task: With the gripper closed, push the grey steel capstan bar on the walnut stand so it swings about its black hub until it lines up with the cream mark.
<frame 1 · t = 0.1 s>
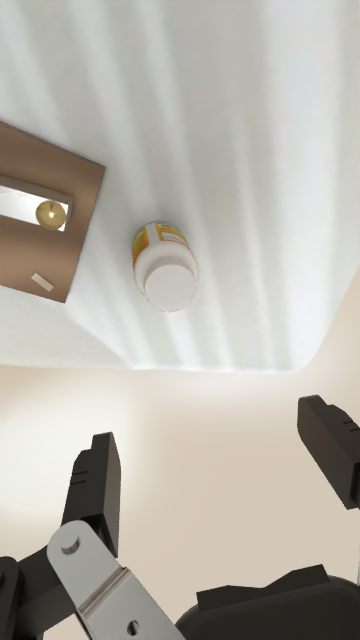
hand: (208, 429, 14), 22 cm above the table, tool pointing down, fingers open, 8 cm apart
supplement bottle: (158, 247, 32), on the table
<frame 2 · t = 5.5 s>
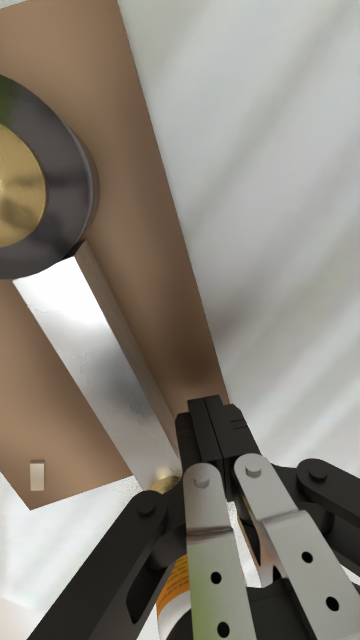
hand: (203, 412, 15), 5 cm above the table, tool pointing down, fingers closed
walnut stand: (66, 305, 16), on the table
capstan bar: (98, 341, 12), point 5 cm above the table, hinge at 28.9°, touching gripper
supplement bottle: (185, 505, 24), on the table
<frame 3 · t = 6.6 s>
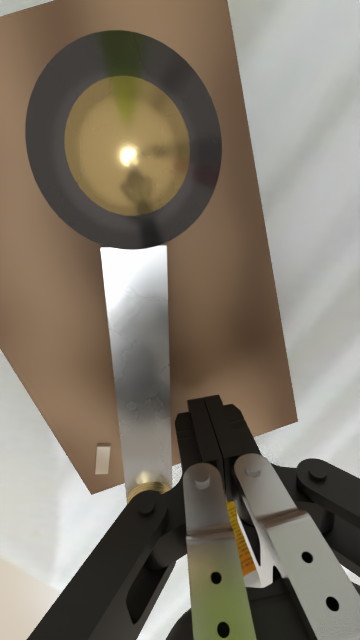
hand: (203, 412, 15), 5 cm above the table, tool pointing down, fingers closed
walnut stand: (135, 287, 17), on the table
capstan bar: (138, 331, 12), point 5 cm above the table, hinge at 9.0°, touching gripper
supplement bottle: (232, 491, 24), on the table
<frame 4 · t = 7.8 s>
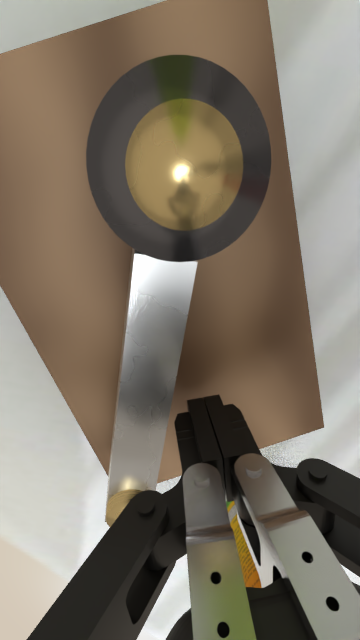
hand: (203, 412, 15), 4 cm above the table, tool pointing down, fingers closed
walnut stand: (166, 294, 17), on the table
capstan bar: (150, 338, 13), point 5 cm above the table, hinge at -1.0°
supplement bottle: (254, 495, 24), on the table
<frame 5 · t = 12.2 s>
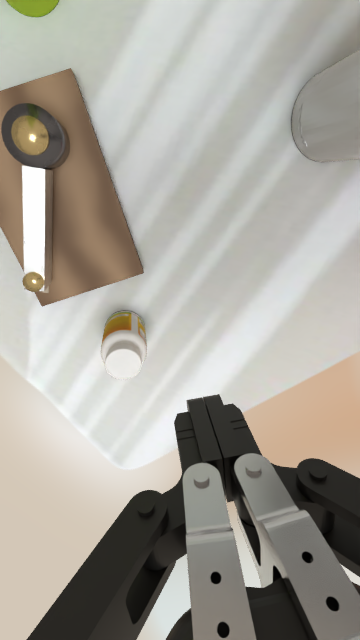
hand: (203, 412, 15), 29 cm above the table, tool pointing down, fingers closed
walnut stand: (58, 201, 37), on the table
capstan bar: (37, 205, 32), point 5 cm above the table, hinge at -1.0°
supplement bottle: (125, 327, 44), on the table
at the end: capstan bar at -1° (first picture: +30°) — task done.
